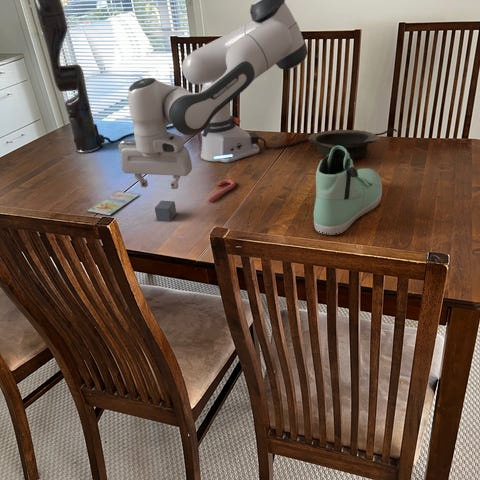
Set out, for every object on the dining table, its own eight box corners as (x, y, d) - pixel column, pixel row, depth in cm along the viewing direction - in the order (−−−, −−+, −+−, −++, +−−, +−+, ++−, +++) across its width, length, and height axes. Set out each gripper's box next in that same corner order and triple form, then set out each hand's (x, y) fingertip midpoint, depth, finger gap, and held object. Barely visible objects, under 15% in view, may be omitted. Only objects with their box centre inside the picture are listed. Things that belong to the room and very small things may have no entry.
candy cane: (196, 199, 151) (195, 195, 150) (224, 181, 161) (224, 177, 160) (211, 203, 148) (210, 199, 147) (239, 184, 158) (238, 180, 157)
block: (156, 220, 141) (154, 207, 139) (163, 212, 145) (161, 200, 143) (170, 221, 140) (168, 208, 138) (176, 213, 144) (174, 201, 142)
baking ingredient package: (86, 209, 148) (117, 190, 160) (87, 211, 148) (117, 191, 160) (109, 214, 145) (139, 194, 156) (109, 215, 145) (139, 195, 156)
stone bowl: (336, 174, 158) (335, 147, 154) (295, 157, 179) (293, 133, 174) (394, 156, 167) (394, 130, 163) (348, 141, 187) (348, 118, 183)
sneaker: (389, 187, 148) (396, 123, 138) (356, 242, 123) (361, 168, 112) (346, 181, 154) (350, 119, 144) (306, 232, 129) (307, 161, 118)
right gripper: (112, 144, 130) (121, 190, 138) (182, 146, 125) (189, 194, 133) (122, 136, 135) (131, 181, 143) (190, 138, 131) (196, 184, 138)
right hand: (159, 187), depth 138 cm, fingers open, 8 cm apart
